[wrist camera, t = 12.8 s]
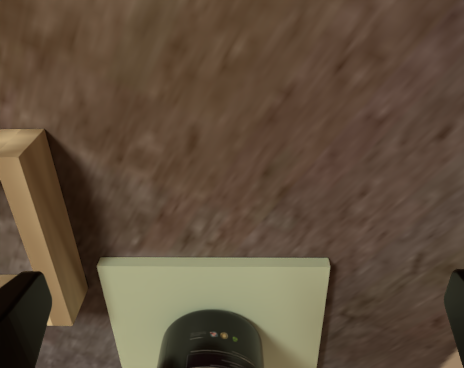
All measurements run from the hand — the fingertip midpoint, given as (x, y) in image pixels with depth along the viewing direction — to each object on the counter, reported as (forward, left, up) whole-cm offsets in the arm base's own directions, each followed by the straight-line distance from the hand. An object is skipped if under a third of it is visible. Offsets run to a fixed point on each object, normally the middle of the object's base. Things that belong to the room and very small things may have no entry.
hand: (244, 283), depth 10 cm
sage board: (+2, +18, -13) cm, 22 cm away
